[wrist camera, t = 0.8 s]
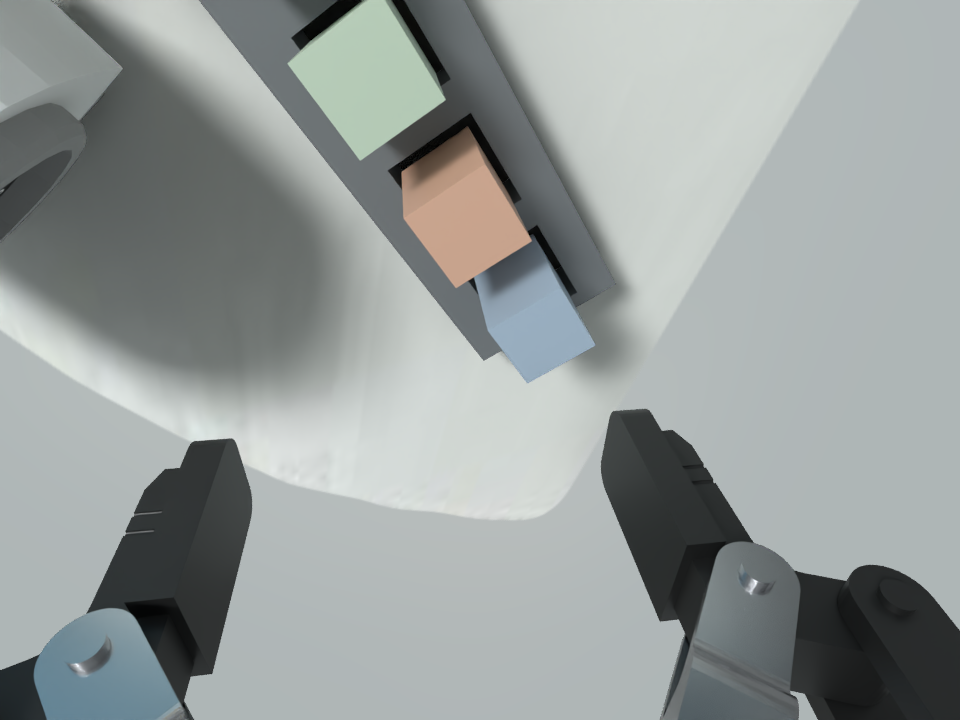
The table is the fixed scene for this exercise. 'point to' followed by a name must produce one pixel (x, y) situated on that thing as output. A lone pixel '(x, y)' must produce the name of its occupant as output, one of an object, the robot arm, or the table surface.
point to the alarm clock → (43, 101)
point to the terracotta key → (461, 209)
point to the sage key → (368, 75)
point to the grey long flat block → (378, 178)
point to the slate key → (531, 312)
